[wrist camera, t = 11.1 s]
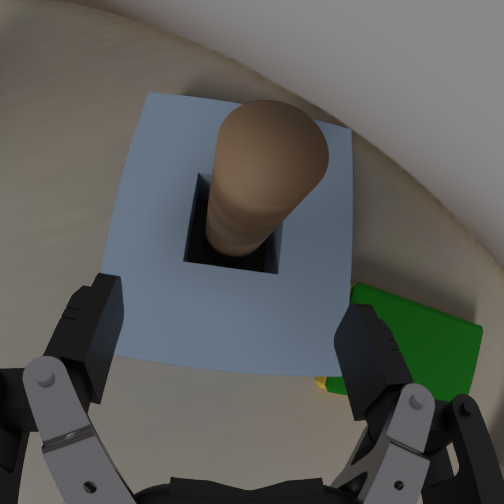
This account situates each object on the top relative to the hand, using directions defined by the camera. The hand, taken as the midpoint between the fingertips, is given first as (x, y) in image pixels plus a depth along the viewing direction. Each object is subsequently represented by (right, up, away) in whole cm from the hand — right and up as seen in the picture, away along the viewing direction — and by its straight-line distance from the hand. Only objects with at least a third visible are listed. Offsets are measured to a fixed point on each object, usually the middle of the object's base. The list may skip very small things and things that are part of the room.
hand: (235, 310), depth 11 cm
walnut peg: (-1, +3, +9) cm, 10 cm away
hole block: (-1, +3, +9) cm, 10 cm away
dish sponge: (+12, -6, +11) cm, 17 cm away
